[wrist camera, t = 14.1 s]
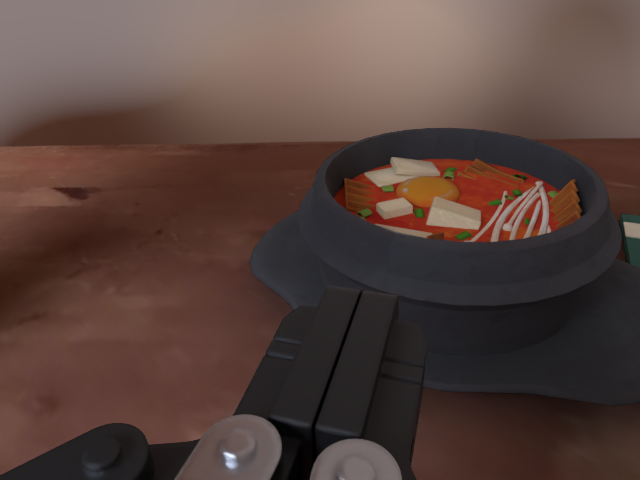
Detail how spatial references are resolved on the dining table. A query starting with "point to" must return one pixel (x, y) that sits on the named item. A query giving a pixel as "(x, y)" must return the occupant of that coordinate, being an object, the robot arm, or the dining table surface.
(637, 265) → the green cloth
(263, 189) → the dining table surface
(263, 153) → the dining table surface
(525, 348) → the casserole
